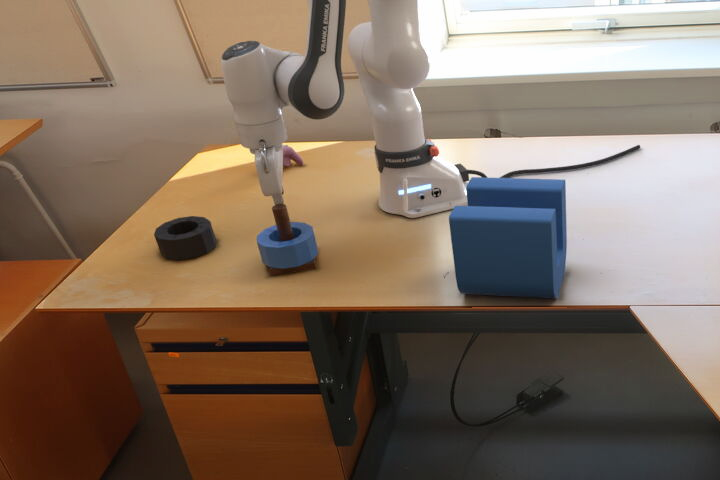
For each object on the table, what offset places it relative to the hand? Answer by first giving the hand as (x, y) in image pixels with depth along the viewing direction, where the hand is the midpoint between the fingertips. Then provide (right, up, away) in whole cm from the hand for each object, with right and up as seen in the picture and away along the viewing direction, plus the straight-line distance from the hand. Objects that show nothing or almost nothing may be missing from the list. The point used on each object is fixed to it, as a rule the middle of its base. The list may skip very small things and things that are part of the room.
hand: (279, 198), depth 158 cm
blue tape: (+1, -11, +3) cm, 11 cm away
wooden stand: (+2, -12, +4) cm, 13 cm away
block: (+48, -18, -7) cm, 52 cm away
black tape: (-23, -8, +11) cm, 27 cm away
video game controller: (-14, +17, +45) cm, 51 cm away
